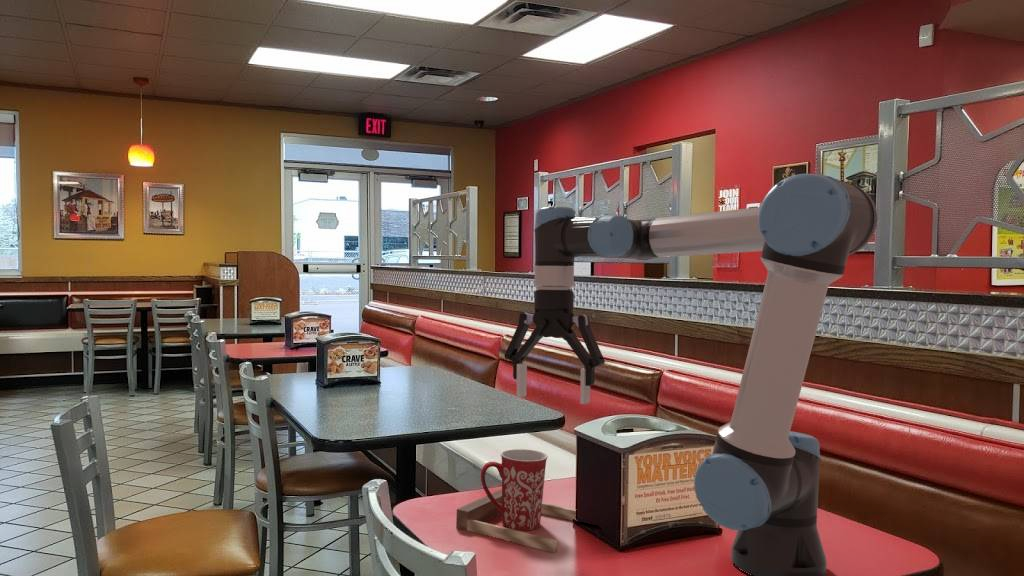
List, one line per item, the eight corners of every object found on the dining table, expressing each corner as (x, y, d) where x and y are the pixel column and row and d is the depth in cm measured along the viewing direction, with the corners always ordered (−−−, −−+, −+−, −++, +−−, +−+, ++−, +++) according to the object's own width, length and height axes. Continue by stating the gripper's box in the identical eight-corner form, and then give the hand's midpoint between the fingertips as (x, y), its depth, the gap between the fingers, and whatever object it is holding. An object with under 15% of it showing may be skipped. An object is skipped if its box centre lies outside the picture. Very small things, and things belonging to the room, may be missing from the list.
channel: (597, 525, 143) (598, 507, 143) (554, 553, 129) (555, 533, 128) (505, 503, 154) (505, 487, 154) (456, 527, 140) (456, 509, 139)
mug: (544, 517, 147) (546, 449, 147) (546, 533, 138) (548, 461, 138) (480, 514, 147) (482, 447, 147) (478, 531, 138) (480, 459, 138)
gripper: (622, 289, 139) (621, 403, 139) (507, 287, 151) (506, 391, 152) (607, 290, 132) (605, 408, 133) (488, 287, 145) (486, 396, 145)
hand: (552, 399), depth 142 cm, fingers open, 13 cm apart
